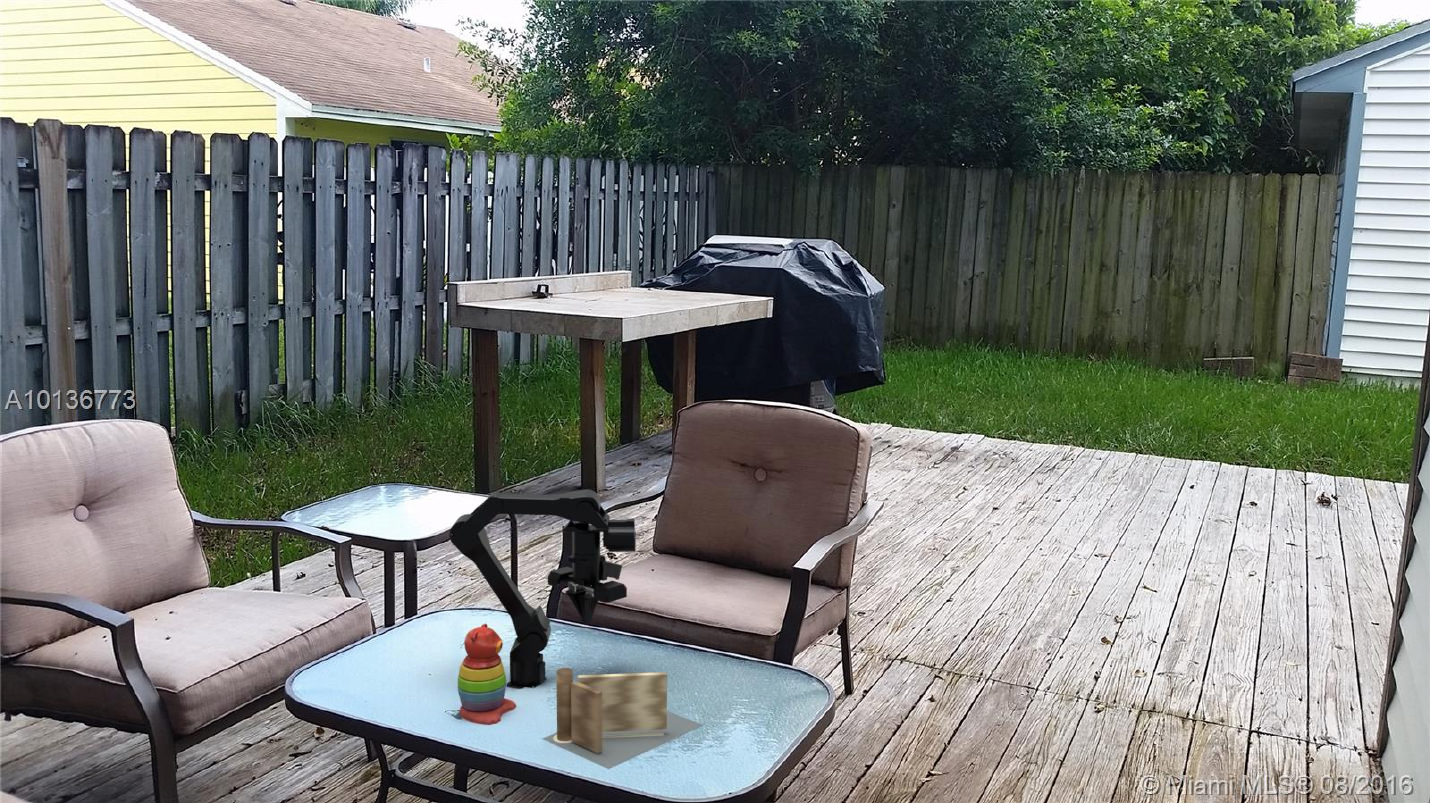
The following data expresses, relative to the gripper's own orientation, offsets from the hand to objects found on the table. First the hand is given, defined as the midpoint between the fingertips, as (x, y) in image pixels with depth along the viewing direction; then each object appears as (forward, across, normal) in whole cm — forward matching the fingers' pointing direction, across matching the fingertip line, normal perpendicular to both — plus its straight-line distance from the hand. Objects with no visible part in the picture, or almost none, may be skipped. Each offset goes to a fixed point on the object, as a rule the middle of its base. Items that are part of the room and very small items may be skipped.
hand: (586, 623), depth 244 cm
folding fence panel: (+11, -25, +14) cm, 31 cm away
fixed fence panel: (+12, -22, +22) cm, 33 cm away
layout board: (+13, -24, +12) cm, 30 cm away
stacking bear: (+13, +3, +24) cm, 28 cm away
